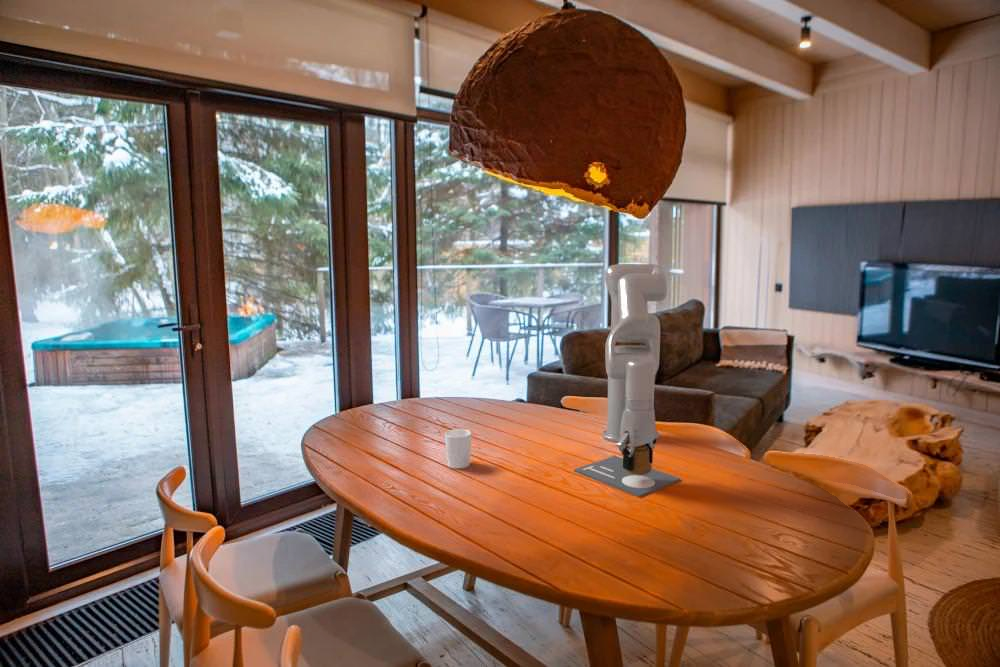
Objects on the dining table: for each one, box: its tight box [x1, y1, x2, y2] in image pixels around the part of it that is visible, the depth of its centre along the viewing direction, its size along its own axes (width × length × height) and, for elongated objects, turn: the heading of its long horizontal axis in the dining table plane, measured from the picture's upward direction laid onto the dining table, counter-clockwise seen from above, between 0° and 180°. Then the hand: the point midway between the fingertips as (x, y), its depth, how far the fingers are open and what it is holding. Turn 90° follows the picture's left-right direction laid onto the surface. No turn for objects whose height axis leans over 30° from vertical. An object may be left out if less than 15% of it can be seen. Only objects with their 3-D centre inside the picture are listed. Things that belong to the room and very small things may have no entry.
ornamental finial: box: [625, 445, 653, 475], centre depth 173 cm, size 8×8×8 cm
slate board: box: [573, 455, 681, 498], centre depth 179 cm, size 18×24×1 cm
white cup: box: [444, 428, 472, 470], centre depth 188 cm, size 8×8×10 cm
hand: (637, 465), depth 173 cm, fingers closed on ornamental finial, 7 cm apart
